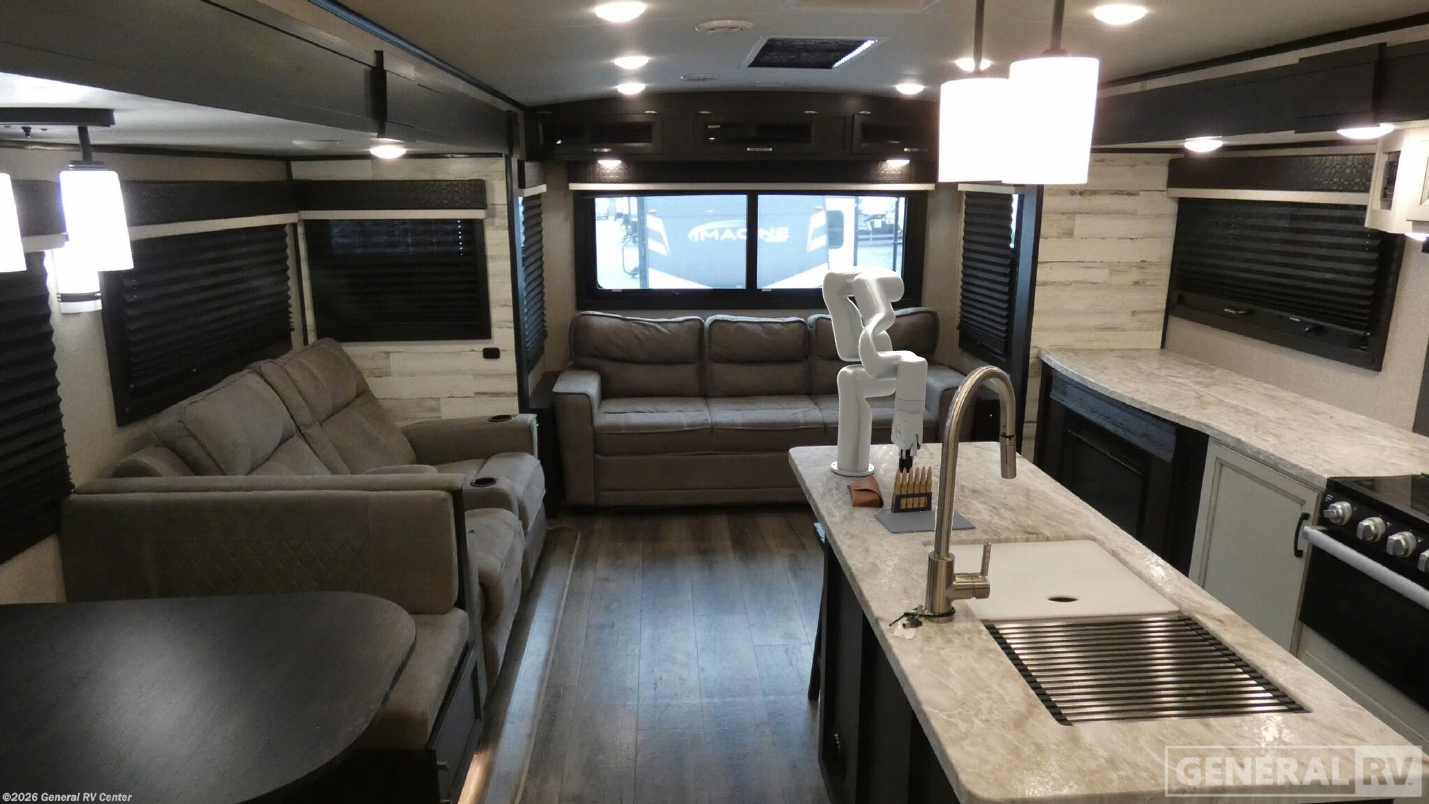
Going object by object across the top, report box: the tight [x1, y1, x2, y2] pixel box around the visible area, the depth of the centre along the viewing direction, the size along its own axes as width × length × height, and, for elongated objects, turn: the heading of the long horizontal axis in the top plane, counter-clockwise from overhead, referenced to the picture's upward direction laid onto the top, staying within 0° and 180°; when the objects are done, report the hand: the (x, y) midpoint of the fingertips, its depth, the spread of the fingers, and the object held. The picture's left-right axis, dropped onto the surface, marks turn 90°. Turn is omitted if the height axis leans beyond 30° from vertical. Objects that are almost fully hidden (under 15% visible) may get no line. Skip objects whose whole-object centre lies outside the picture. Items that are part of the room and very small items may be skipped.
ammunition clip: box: [890, 465, 933, 513], centre depth 231 cm, size 11×2×12 cm, turn 104°
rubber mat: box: [873, 509, 977, 534], centre depth 224 cm, size 12×22×1 cm, turn 101°
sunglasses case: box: [846, 474, 885, 509], centre depth 242 cm, size 18×7×7 cm
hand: (905, 472), depth 235 cm, fingers closed
